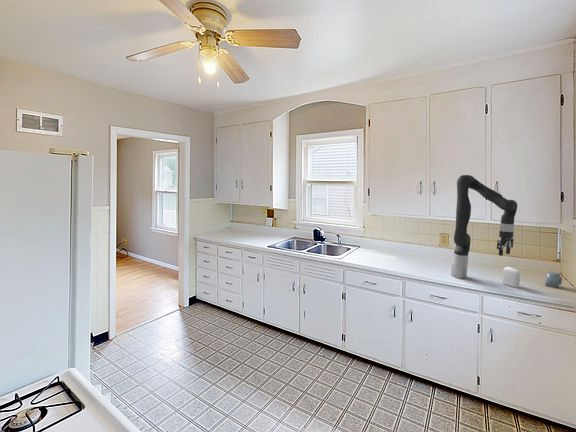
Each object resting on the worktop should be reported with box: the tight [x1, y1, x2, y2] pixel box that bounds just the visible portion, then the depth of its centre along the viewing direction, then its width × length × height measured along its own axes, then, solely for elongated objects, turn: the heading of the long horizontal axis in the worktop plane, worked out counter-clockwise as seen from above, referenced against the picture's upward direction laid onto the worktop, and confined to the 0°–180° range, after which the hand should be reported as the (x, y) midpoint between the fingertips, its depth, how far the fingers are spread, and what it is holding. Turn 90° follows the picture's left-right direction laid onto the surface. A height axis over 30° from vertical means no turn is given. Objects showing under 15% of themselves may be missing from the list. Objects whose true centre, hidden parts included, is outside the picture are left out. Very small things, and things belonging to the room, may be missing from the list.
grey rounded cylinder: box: [544, 271, 563, 289], centre depth 203 cm, size 8×7×9 cm
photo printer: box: [502, 266, 521, 289], centre depth 205 cm, size 10×4×12 cm, turn 14°
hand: (504, 254), depth 199 cm, fingers open, 7 cm apart
